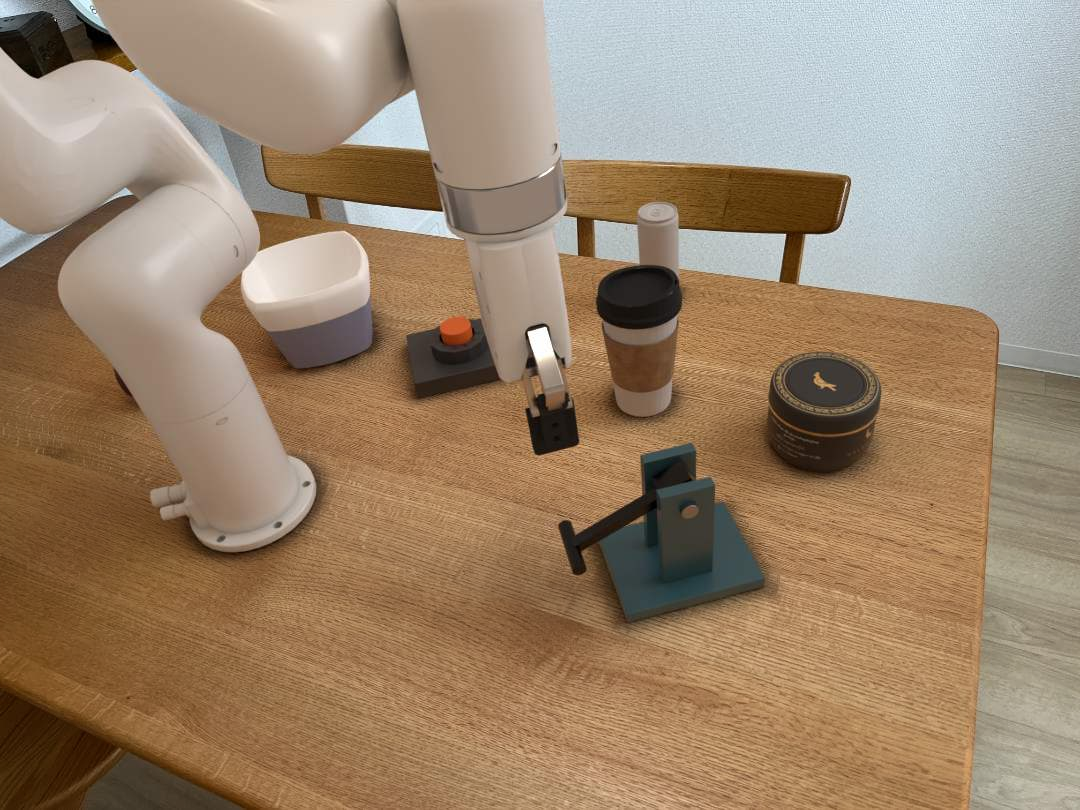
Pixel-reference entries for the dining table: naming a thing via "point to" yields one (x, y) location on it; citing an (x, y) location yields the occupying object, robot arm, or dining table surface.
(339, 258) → the bowl
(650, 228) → the beverage can
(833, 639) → the dining table surface
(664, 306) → the coffee cup
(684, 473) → the lever
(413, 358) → the button block
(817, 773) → the dining table surface
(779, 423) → the jar
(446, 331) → the button
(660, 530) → the lever base
